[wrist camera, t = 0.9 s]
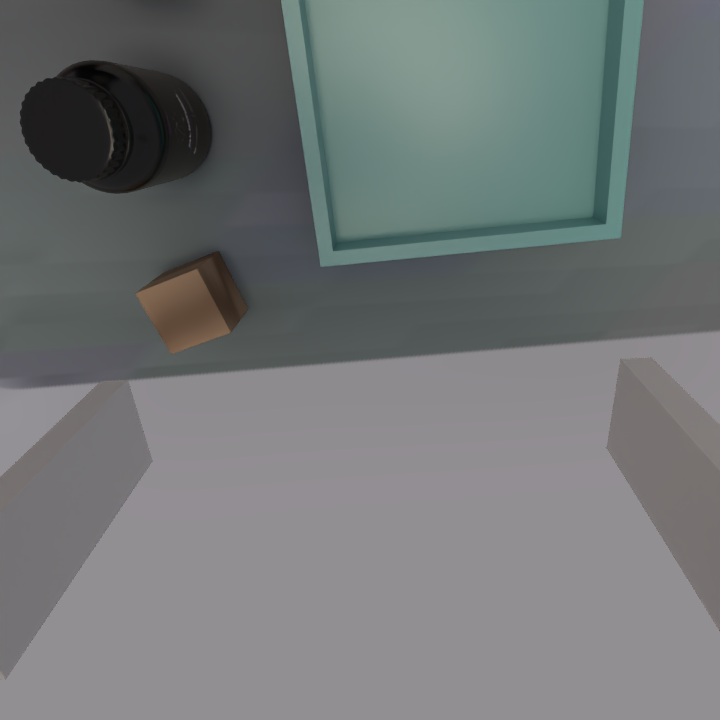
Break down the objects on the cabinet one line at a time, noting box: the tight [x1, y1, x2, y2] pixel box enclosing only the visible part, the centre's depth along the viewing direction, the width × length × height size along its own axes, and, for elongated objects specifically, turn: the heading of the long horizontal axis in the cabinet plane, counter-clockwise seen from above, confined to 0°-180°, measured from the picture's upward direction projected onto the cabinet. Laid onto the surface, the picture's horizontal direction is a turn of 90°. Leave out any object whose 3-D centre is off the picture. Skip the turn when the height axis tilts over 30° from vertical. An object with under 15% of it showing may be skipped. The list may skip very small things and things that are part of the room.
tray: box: [281, 0, 644, 267], centre depth 33 cm, size 20×20×4 cm
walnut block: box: [135, 251, 248, 354], centre depth 39 cm, size 5×5×5 cm
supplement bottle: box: [20, 60, 210, 194], centre depth 31 cm, size 7×7×12 cm
